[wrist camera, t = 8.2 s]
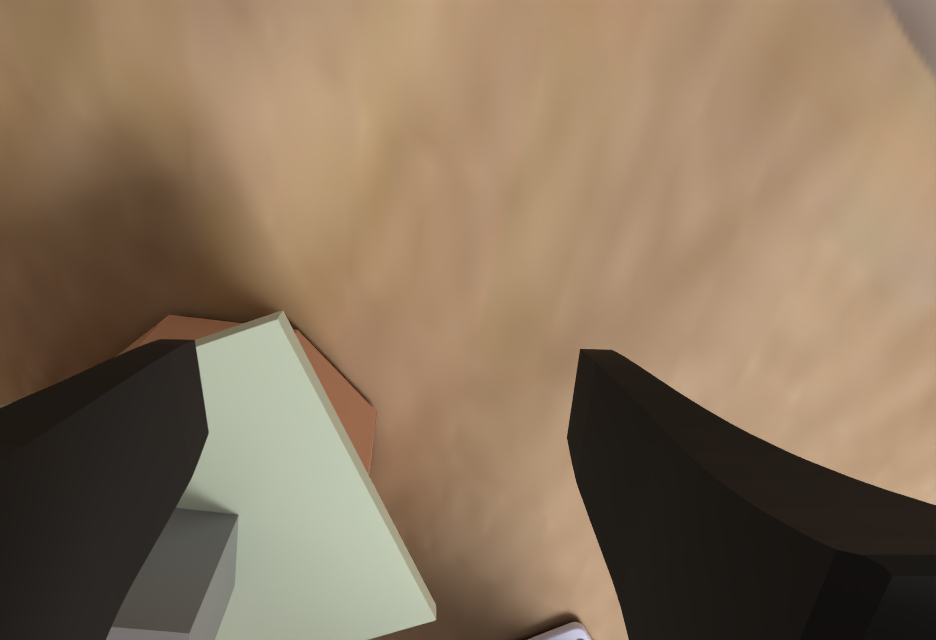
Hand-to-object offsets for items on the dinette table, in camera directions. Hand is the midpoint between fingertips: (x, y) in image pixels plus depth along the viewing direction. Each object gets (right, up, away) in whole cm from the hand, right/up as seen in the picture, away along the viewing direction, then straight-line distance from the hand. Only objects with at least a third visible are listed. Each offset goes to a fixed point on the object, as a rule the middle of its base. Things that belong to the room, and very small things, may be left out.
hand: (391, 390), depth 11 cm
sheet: (-7, -5, +8) cm, 12 cm away
